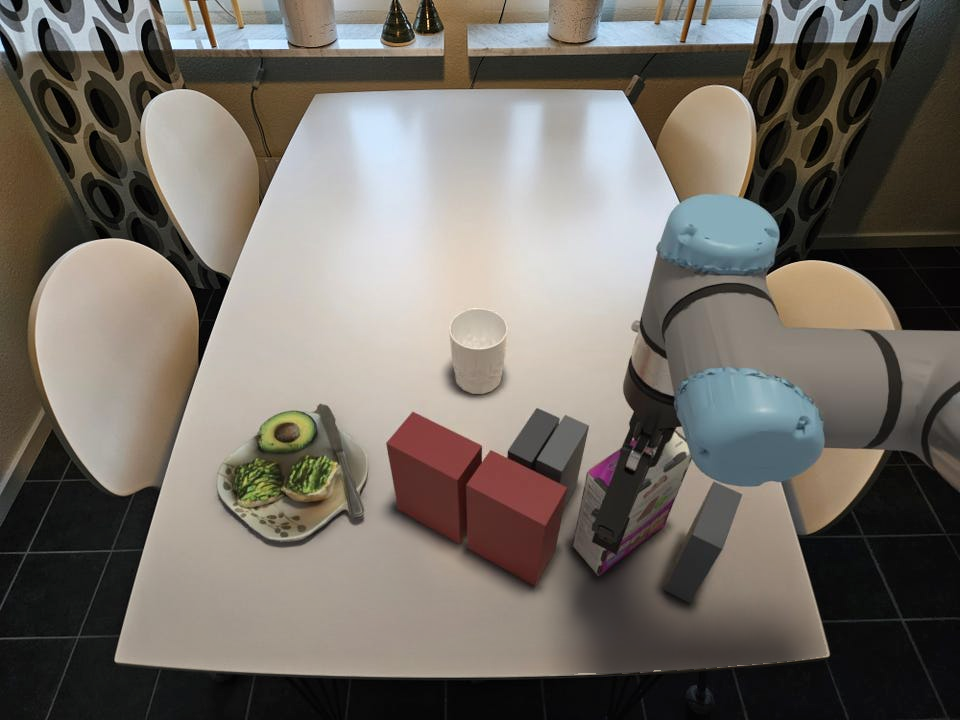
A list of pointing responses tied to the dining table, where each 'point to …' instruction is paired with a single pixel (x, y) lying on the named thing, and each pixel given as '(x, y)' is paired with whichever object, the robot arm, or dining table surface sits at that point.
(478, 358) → the white cup
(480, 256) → the dining table surface
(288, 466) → the avocado toast plate
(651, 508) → the candy bar box
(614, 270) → the dining table surface
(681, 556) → the grey boxes
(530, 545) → the maroon boxes
